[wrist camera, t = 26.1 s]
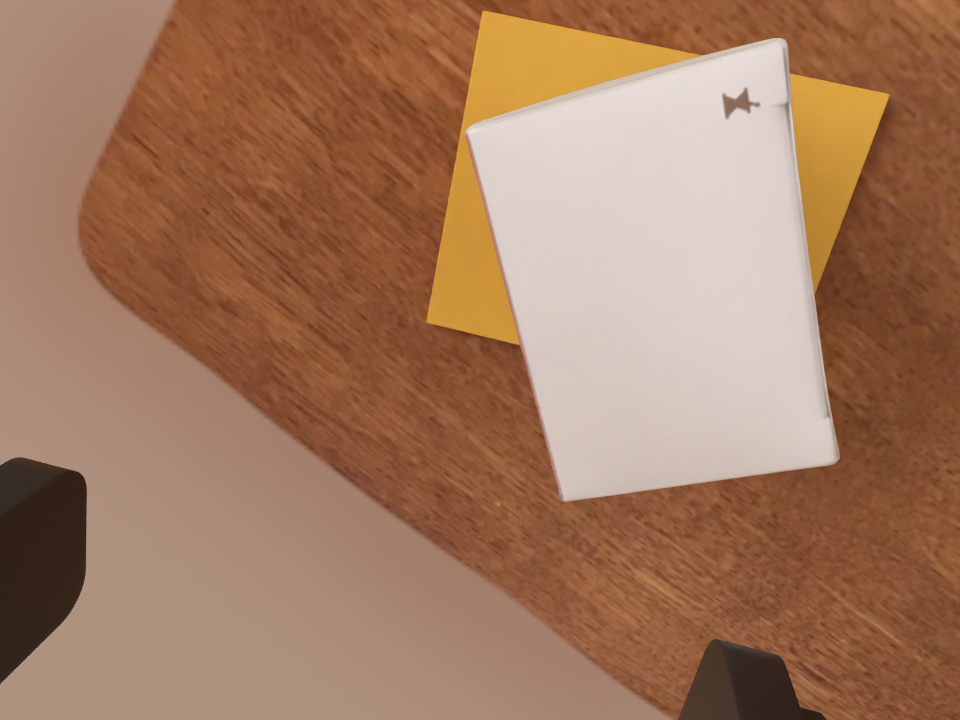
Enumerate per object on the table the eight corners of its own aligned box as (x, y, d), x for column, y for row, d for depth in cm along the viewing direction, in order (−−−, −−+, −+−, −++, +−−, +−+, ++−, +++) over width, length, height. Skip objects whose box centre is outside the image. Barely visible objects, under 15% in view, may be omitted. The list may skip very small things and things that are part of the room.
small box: (519, 107, 23) (454, 116, 13) (706, 56, 21) (790, 22, 12) (575, 350, 25) (555, 512, 15) (746, 316, 24) (845, 471, 14)
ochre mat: (428, 319, 26) (425, 323, 26) (484, 11, 22) (482, 10, 22) (770, 402, 25) (772, 407, 25) (885, 94, 21) (890, 94, 21)
